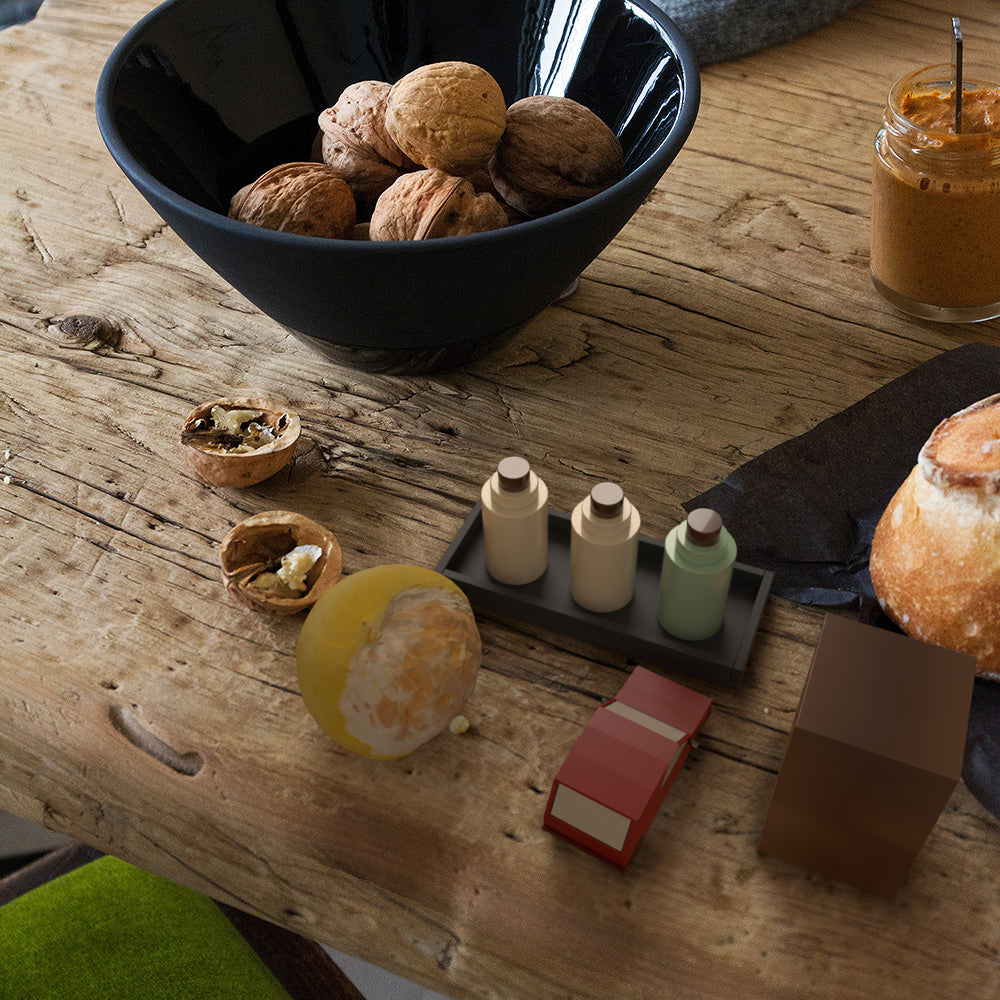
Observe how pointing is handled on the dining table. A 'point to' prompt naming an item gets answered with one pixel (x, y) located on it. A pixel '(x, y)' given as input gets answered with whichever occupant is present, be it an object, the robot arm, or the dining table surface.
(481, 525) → the tray
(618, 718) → the toy truck
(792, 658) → the dining table surface
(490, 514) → the bottle far
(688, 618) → the bottle celadon
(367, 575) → the fruit
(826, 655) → the stand
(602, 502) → the bottle mid
